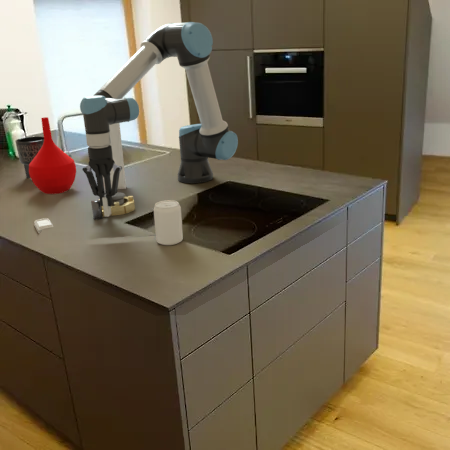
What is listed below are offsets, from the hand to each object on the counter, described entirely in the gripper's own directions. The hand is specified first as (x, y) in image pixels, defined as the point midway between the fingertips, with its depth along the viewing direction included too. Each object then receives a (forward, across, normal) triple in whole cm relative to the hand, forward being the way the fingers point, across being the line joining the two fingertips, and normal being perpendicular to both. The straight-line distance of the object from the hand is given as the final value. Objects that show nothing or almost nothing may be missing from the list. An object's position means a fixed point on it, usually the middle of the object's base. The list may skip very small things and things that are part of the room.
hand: (108, 215), depth 175 cm
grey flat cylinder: (+3, +2, -8) cm, 9 cm away
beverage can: (+3, -25, +14) cm, 29 cm away
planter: (+3, +54, -54) cm, 76 cm away
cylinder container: (+3, +12, -40) cm, 42 cm away
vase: (+3, +36, -35) cm, 51 cm away
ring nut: (+1, +1, -7) cm, 7 cm away
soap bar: (+3, +20, +6) cm, 21 cm away
